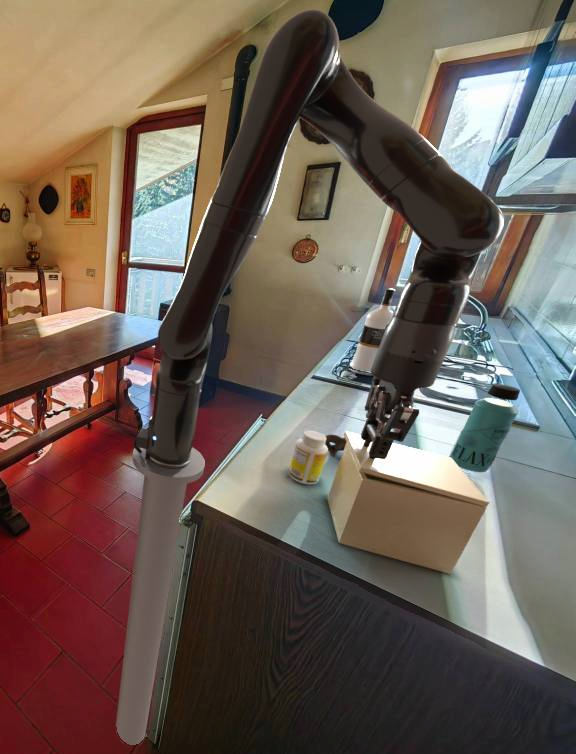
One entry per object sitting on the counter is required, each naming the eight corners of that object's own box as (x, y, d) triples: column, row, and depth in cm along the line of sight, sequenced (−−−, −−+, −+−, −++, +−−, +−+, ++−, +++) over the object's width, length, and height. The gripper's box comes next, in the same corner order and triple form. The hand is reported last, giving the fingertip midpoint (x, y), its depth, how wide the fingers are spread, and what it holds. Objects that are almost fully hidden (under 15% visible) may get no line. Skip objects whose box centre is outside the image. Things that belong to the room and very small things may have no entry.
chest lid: (359, 471, 60) (373, 443, 58) (343, 434, 70) (354, 409, 68) (486, 507, 55) (507, 477, 52) (449, 461, 65) (465, 435, 63)
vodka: (365, 367, 147) (392, 286, 135) (385, 376, 138) (416, 291, 127) (342, 367, 146) (367, 286, 135) (360, 376, 138) (389, 291, 126)
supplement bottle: (318, 475, 83) (331, 433, 79) (317, 489, 78) (331, 445, 74) (288, 467, 85) (300, 426, 81) (286, 479, 81) (298, 437, 77)
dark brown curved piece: (366, 456, 91) (392, 438, 84) (367, 490, 85) (395, 475, 79) (313, 435, 93) (334, 417, 87) (310, 467, 88) (333, 451, 81)
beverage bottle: (438, 464, 87) (475, 382, 79) (456, 459, 89) (494, 378, 81) (474, 481, 81) (519, 394, 74) (493, 475, 84) (538, 390, 76)
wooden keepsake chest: (338, 543, 65) (362, 479, 60) (327, 498, 76) (346, 441, 71) (450, 574, 59) (486, 507, 55) (421, 521, 70) (449, 461, 65)
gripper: (368, 334, 64) (337, 424, 71) (394, 359, 52) (354, 465, 59) (425, 341, 62) (387, 434, 68) (466, 369, 50) (415, 478, 56)
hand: (372, 448), depth 64 cm, fingers closed on chest lid, 5 cm apart
